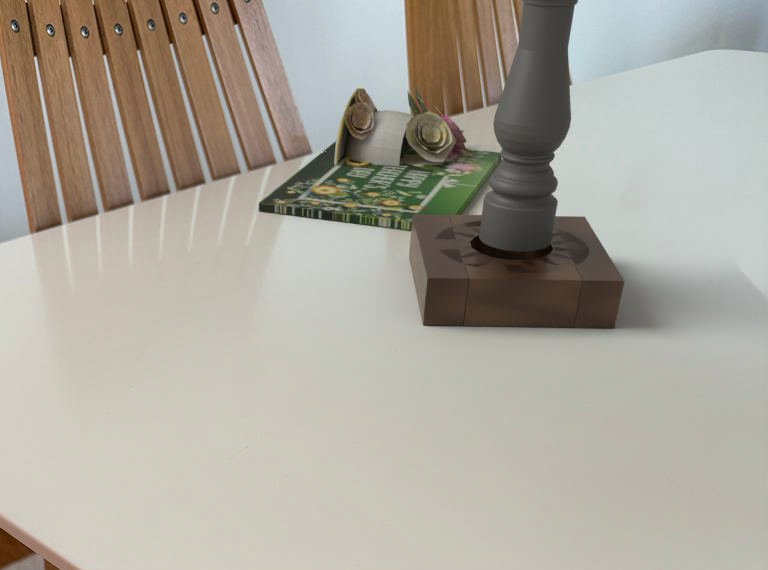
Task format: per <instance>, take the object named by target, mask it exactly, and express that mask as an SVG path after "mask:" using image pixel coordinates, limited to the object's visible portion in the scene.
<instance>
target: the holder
mask: <svg viewBox="0 0 768 570" xmlns="http://www.w3.org/2000/svg"><path fill="white" fill-rule="evenodd" d="M481 218H482V214H460V215H432V214H413V215H412V227H411V230H410V241H409V253H408V258H409V259H408V260H409V263H410V268H411V273H412V278H413V282H414V283H413V284H414V289H415V292H416V293H415V294H416V298H417V302H418V306H419V312H420V318H421V323H422V325H423V326H451V327H452V326H456V327H458V326H459V327H460V326H461V327H510V328H511V327H513V328H514V327H515V328H574V329H575V328H577V329H578V328H579V329H580V328H582V329H583V328H584V329H615V327H616V324H617V323H616V322H617V318H618V314H619V309H620V306H621V305H620V304H621V299H622V295H623V291H624V287H625V286H624V285H625V280H624V278H623V276H622V274H621V272H620V271H619V269H618V268H617V266H616V264H615V263H614V261H613V260H612V259H611V257H610V255H609V253H608V252H607V250H606V248H605V247H604V246H603V244H602V242H601V240H600V239H599V238H598V236H597V234H596V233H595V231H594V228H593V227H592V226H591V224H590V223H589V221H588V219H587V218H586V216H573V215H572V216H568V215H567V216H564V215H563V216H562V215H555V221H554V227H553V233H552V239H551V243H550V245H549V246H547V247H546V248H544V249H540V250H535V251H520V252H517V251H508V250H501V249H498V248H494V247H490V246H488V245H487V244H485V243H483V242H482V241H481V240H480V238H479V234H480V226H481Z"/></svg>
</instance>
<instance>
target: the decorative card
mask: <svg viewBox="0 0 768 570" xmlns="http://www.w3.org/2000/svg"><path fill="white" fill-rule="evenodd" d="M414 87H415V88H414V89H415V98H416V100H417V102H418V104H419V106H420V108H419V106H418V105H417V103H416V101H415V100H414V98H413V97H412V95H411V94H410V92H409V90H407V92H406V93H407V102H408V107H409V108H410V109H411V112H412V113H413V115H412V114H409V113H406V112H403V111H399V110H391V109H390V110H388V109H386V110H385V109H384V110H378V108H377V107H376V105H375V103H374V101H373V100H372V98H371V96H370V95H369V94H368V93H367V91H366V89H365V88H362V87H361V88H360V87H357V88H356V89H355V91H354V92H353V93H352V94H351V96H350V98H349V99H348V101H347V103H346V105H345V107H344V110H343V112H342V116H341V119H340V122H339V125H338V130H337V135H336V140H335V141H334V142H333V143H331V144H330V145H329V146H327V147H326V148H325V149H324V150H323V151H322V152H323V153H322V152H320V153H318V154H317V156H315V157H314V158H312V160H310V161H309V162H307V164H305V165H304V166H303V167H301V168H300V169H299V170H298V171H296V172H295V173H294V174H293V175H292V176H291V177H289V178H288V179H287V180H286V181H284V182H283V183H282V184H280V185H279V186H278V187H276V189H274V190H273V191H272V192H271V193H269V194H268V195H266V196H265V197H264V198H263V199H261V201H259V202H258V211H259V212H266V213H274V214H279V215H281V214H282V215H288V216H289V215H290V216H297V217H304V218H311V219H313V218H314V219H320V220H329V221H337V222H344V223H350V224H351V223H352V224H360V225H366V226H376V227H382V228H383V227H384V228H391V229H399V230H407V231H411V227H412V215H413V214H432V215H462V214H463V211H464V210H465V209H466V207H468V205H469V203H470V202H471V201H472V199H473V198H474V197H475V196H476V195H477V193H478V191H480V189H481V188H482V186H483V185H484V183H485V182H486V180H487V179H488V178H490V176H491V175H492V174H493V172H494V170H496V167H498V166H499V164H500V163H501V161H502V157H501V155H500V152H498V151H497V152H496V151H487V150H479V149H478V150H476V149H470V148H469V149H468V148H466V145H465V144H466V143H467V141H468V140H467V139H466V137H465V136H464V132H465V130H464V129H463V130H461V128H460V127H459V126H458V125H457V124H456V122H455V121H454V120H453V119H451V118H450V117H449V116H448V115H445V114H444V113H442V112H441V111H440V110H439V109H438V108H437V107H436V106H434V108H435V109H436V111H437V112H438V113H436V112H433V111H431V110H430V109H427V108H426V105H425V101H423V98H422V96H421V94H420V92H419V90H418V86H417V85H416V84H414ZM325 151H326V152H325Z"/></svg>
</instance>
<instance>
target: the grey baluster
mask: <svg viewBox="0 0 768 570" xmlns="http://www.w3.org/2000/svg"><path fill="white" fill-rule="evenodd" d="M521 2H522V3H523V5H522V11H521V18H520V19H521V20H520V26H519V28H520V29H519V33H518V36H519V37H518V42H517V48H516V51H515V54H514V57H513V59H512V63H511V66H510V69H509V72H508V75H507V78H506V81H505V84H504V87H503V89H502V93H501V96H500V98H499V102H498V104H497V108H496V111H495V113H494V116H493V117H494V118H493V132H494V135H495V138H496V141H497V143H498V145H499V146H500V147H501V150H500V152H499V153H500V155H501V159H502V162H500V163H499V164H498V165H497V166H496V167H497V168H495V171H493V172H492V173H491V174H490V176H489V179H488V186H489V187H490V188H491V190H490V191H488V192H486V193H485V195H484V197H483V204H482V211H481V215H482V218H481V226H480V234H479V238H480V240H481V241H482V242H483V243H485V244H487V245H488V246H490V247H494V248H498V249H501V250H508V251H517V252H520V251H535V250H540V249H544V248H546V247H547V246H549V245H550V243H551V239H552V233H553V227H554V221H555V216H557V215H556V214H557V209H558V203H559V201H558V199H557V197H555V195H553V193H555V192H556V191H557V188H558V185H559V180H558V178H557V177H556V176H555V171H554V170H553V167H552V166H551V165H550V164H551V162H553V161H554V159H555V156H556V154H555V152H556V151H557V150H558V149H559V148H560V147H561V145H562V144H563V142H564V141H565V140H566V138H567V135H568V133H569V130H570V127H571V122H572V108H571V106H572V105H571V87H570V86H571V85H570V63H569V62H570V61H569V45H570V44H569V43H570V38H571V37H570V36H571V32H572V25H573V18H574V13H575V7H576V5H577V4H578V3H579V0H521Z"/></svg>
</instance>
